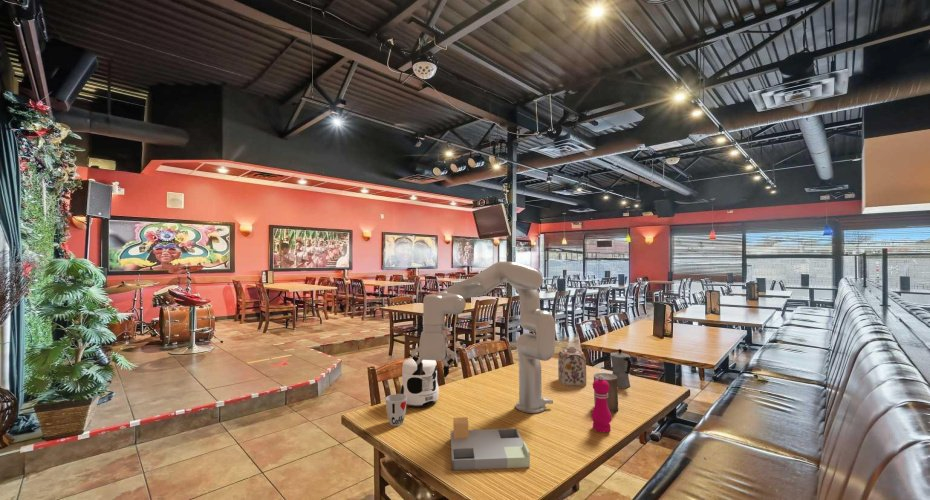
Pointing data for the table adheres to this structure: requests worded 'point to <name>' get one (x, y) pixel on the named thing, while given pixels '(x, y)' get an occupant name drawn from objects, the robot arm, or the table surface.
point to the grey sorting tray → (489, 450)
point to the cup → (396, 408)
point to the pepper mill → (601, 406)
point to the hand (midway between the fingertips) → (432, 375)
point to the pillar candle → (610, 390)
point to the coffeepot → (621, 368)
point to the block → (460, 427)
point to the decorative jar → (572, 367)
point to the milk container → (420, 383)
